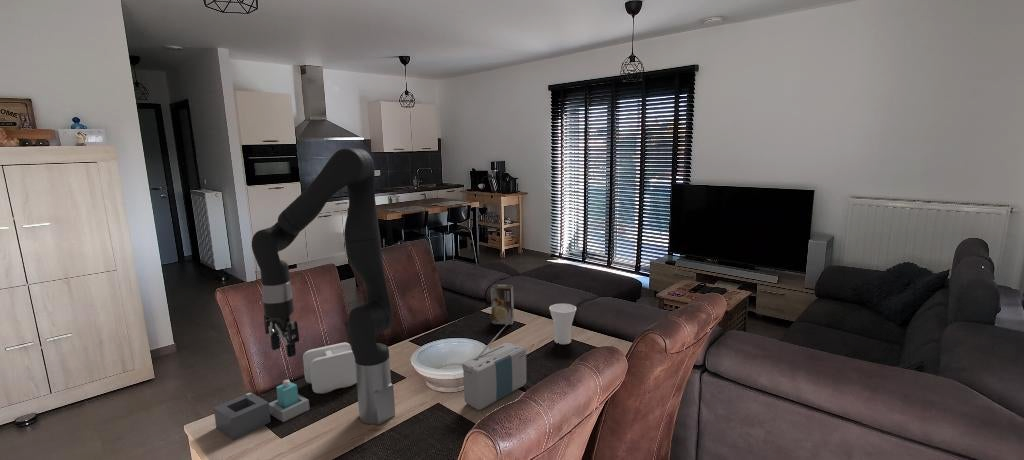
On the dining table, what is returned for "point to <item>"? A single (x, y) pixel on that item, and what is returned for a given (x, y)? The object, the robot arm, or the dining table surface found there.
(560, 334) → the cup
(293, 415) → the grey square hollow frame
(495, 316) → the coffee box
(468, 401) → the stereo radio cassette player
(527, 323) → the dining table surface
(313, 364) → the cable organizer
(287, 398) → the plug
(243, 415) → the port
